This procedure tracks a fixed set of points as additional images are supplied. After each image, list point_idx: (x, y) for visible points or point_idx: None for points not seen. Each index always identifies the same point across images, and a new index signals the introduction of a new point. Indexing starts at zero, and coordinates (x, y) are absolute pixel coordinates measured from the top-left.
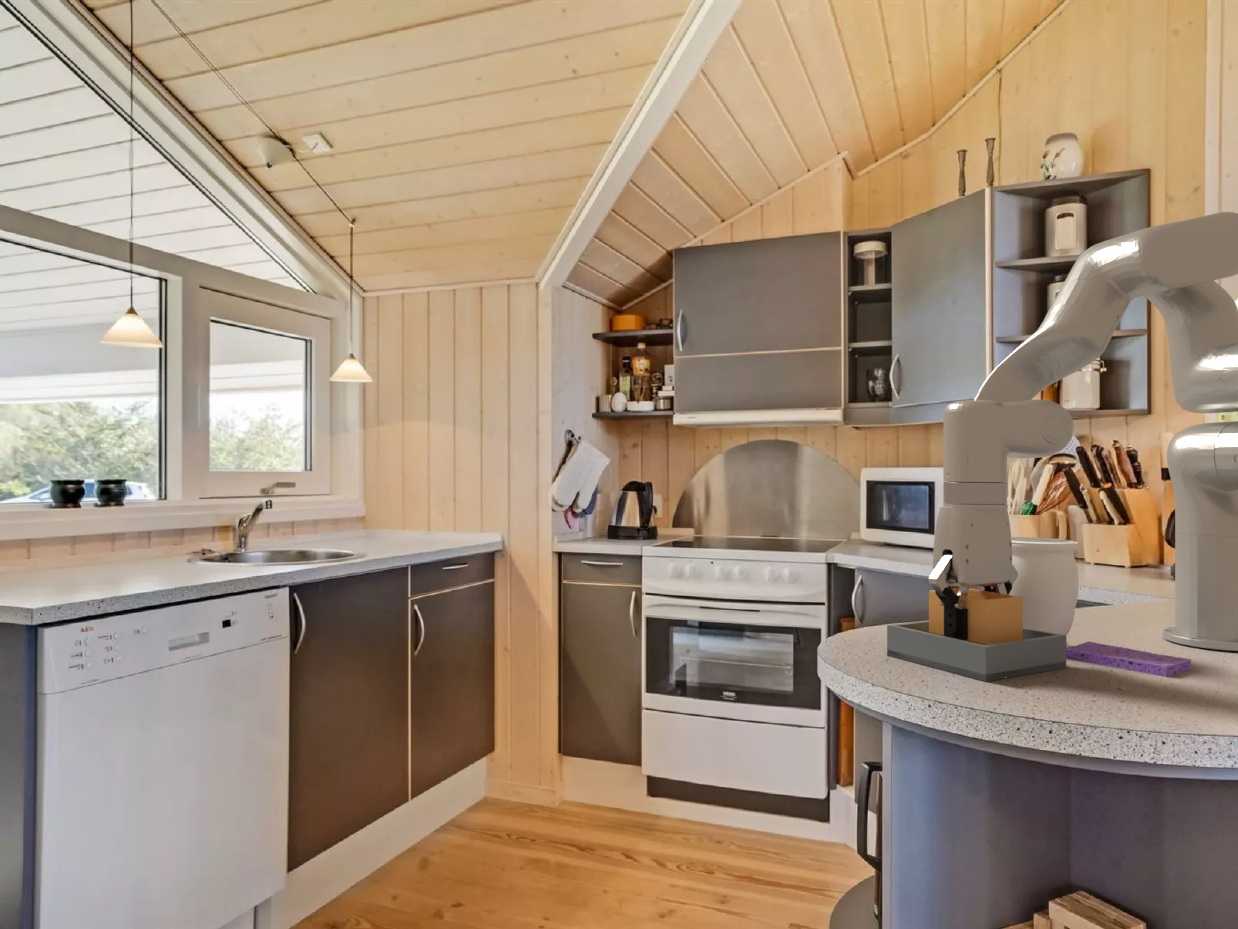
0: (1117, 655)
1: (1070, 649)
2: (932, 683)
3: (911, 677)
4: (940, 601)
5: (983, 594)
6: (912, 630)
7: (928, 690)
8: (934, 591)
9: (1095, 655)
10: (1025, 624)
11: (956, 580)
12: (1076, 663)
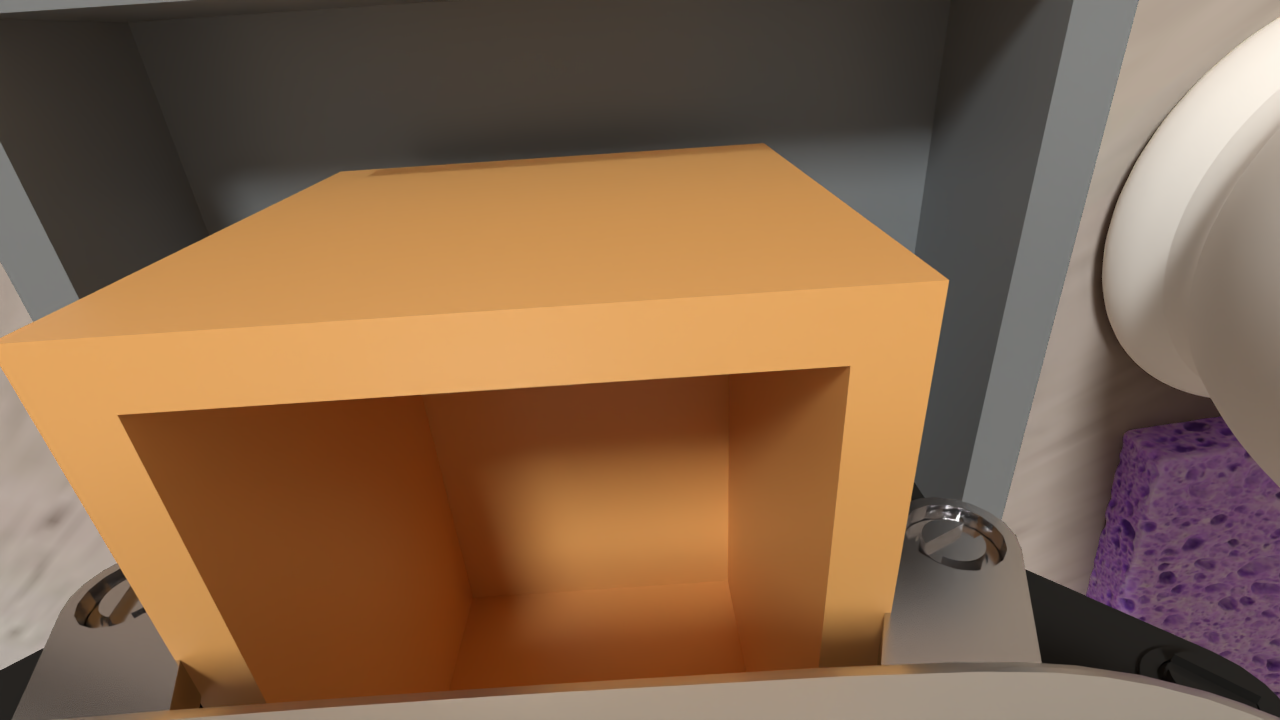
0: (1172, 630)
1: (1151, 495)
2: (84, 556)
3: (23, 461)
4: (77, 597)
5: (807, 631)
6: (27, 286)
7: (13, 615)
8: (57, 449)
9: (1121, 583)
10: (1222, 379)
11: (430, 698)
12: (1019, 534)
